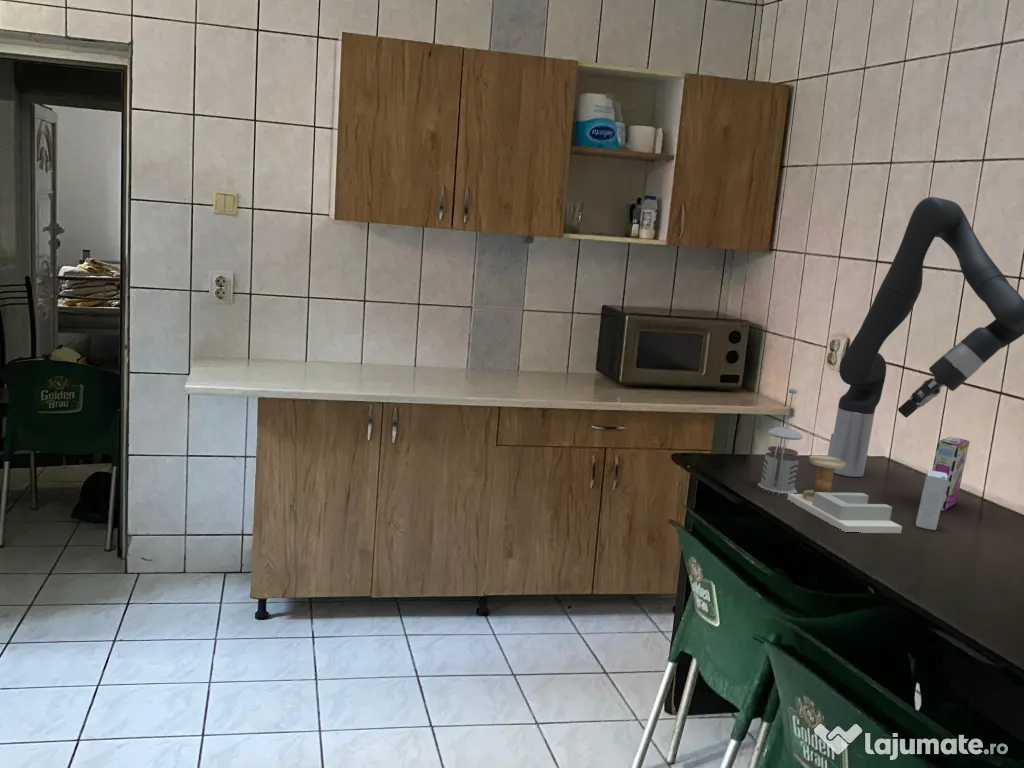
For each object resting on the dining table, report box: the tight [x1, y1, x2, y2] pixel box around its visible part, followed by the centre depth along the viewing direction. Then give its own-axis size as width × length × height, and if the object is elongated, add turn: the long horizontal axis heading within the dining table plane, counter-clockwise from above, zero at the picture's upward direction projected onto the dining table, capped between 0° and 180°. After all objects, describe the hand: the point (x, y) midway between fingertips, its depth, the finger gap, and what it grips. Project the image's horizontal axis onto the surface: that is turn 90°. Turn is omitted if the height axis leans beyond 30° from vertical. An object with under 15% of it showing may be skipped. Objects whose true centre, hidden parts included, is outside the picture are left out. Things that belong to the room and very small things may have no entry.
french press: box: [757, 387, 804, 494], centre depth 221 cm, size 10×12×25 cm
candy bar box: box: [931, 436, 971, 512], centre depth 224 cm, size 11×5×16 cm, turn 141°
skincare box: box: [915, 469, 948, 531], centre depth 205 cm, size 6×4×12 cm
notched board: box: [787, 491, 903, 534], centre depth 206 cm, size 22×14×4 cm, turn 16°
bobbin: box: [802, 454, 846, 502], centre depth 212 cm, size 8×8×10 cm
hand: (901, 414), depth 219 cm, fingers open, 8 cm apart
